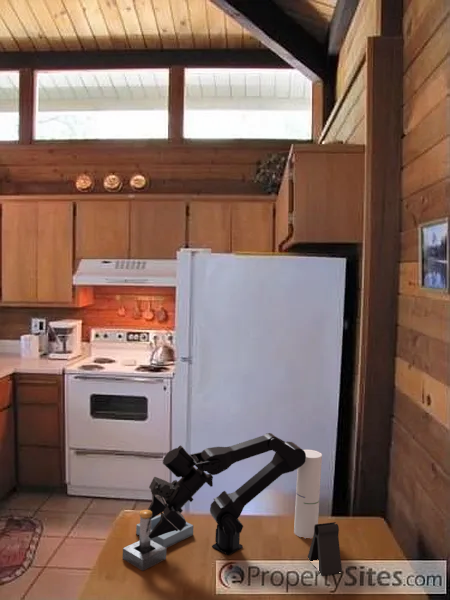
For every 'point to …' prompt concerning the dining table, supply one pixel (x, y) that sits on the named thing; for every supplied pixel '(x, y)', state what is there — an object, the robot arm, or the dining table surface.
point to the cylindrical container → (308, 494)
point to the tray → (170, 537)
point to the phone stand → (326, 548)
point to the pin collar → (144, 555)
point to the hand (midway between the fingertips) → (146, 529)
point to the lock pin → (145, 531)
